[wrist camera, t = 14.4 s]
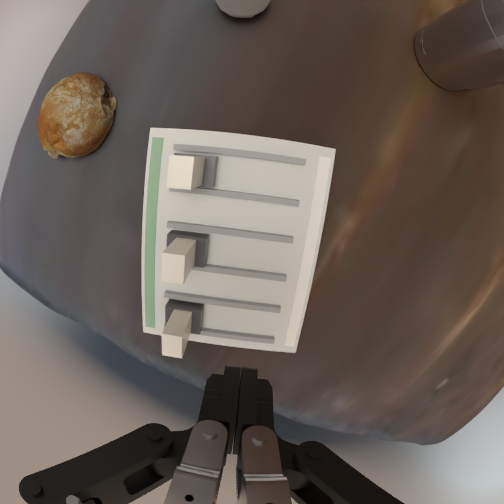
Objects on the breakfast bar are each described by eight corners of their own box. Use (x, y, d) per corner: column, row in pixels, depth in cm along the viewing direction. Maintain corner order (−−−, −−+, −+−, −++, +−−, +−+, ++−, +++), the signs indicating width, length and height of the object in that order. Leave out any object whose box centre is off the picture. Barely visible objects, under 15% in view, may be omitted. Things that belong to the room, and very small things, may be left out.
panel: (332, 149, 30) (337, 148, 28) (294, 346, 37) (296, 356, 35) (155, 128, 29) (147, 127, 27) (146, 326, 36) (141, 335, 34)
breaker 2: (209, 234, 31) (197, 254, 24) (207, 261, 32) (194, 288, 25) (172, 229, 31) (150, 248, 24) (170, 256, 32) (150, 281, 25)
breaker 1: (218, 156, 29) (207, 155, 22) (214, 186, 30) (202, 193, 23) (179, 153, 29) (157, 151, 22) (176, 182, 29) (154, 188, 23)
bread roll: (130, 137, 33) (129, 114, 26) (59, 180, 30) (40, 168, 23) (101, 78, 30) (96, 47, 23) (33, 117, 28) (14, 94, 20)
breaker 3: (204, 303, 33) (192, 336, 27) (202, 325, 34) (191, 361, 28) (169, 297, 33) (151, 329, 27) (169, 320, 34) (152, 354, 27)
